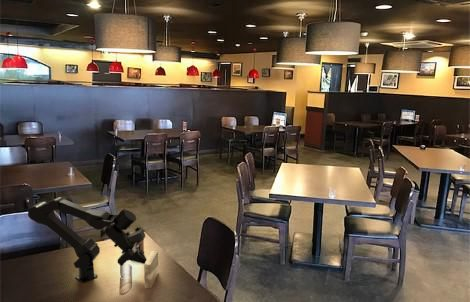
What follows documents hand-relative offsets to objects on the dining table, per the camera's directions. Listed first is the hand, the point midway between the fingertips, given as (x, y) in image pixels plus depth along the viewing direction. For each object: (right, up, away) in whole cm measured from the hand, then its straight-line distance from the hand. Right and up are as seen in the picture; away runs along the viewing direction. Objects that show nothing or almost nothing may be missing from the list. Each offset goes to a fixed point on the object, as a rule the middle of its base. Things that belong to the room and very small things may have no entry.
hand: (146, 263), depth 149 cm
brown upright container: (-11, -3, +25) cm, 27 cm away
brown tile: (+2, -7, +1) cm, 8 cm away
